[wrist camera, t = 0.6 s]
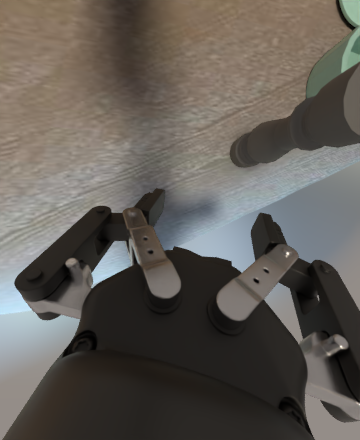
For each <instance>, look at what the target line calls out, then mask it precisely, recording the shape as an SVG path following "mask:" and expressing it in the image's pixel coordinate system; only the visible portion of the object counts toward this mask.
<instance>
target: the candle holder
mask: <svg viewBox="0 0 360 440" xmlns="http://www.w3.org/2000/svg"><path fill="white" fill-rule="evenodd" d="M357 143H360V62H358V63H357V64H355V65H354V66H352V67H350V68H349V69H347V70H346V71H344V72H343V73H341V74H340V75H338V76H337V77H335V78H333V79H332V80H331V81H330V82H328V83H327V84H326V85H325V86H323V87H322V88H321V89H320V91H319V92H318V94H317V95H316V96H313V97H310V98H307V99H305V100H304V101H303V102H302V103H300V104H299V105H298V106H297V107H296V108H295V109H294V111H293V112H292V114H291V116H289V117H287V118H284V119H278V120H272V121H267V122H264V123H261V124H260V125H258V126H257V127H256V128H255V129H253V131H252V132H250V133H247V134H244V135H243V136H241V137H240V138H238V139H237V140H236V141H235V142H234V143H233V145H232V146H231V150H230V157H231V160H232V161H233V163H234V164H235V165H237V166H238V167H250V166H254V165H257V164H258V163H269V162H273V161H276V160H277V159H279V158H280V157H282V156H283V155H285V154H286V153H288V152H289V151H291V150H292V149H294V148H299V149H301V150H309V151H312V150H315V149H318V148H322V147H323V146H330V147H342V146H347V145H352V144H357Z"/></svg>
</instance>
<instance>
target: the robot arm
mask: <svg viewBox="0 0 360 440" xmlns="http://www.w3.org/2000/svg"><path fill="white" fill-rule="evenodd" d="M164 199H165V190H162V189H158V188H156V189H155V190H154V192H153V193H150V192H149V193H147V194H145V195H144V196H143V197H142V198H141V199H140V200H139V202H138V203H137V204H136V205H135V206H134V207H132V208H127V209H125V210H124V211H123V213H111V209H110V208H109V207H107V206H97V207H94V208H92V209H91V210H90V211H89V212H88V213H86V214H85V215H84V216H83V217H82V218H81V219H80V220H79V221H78V222H76V223H75V224H74V225H73V226H72V227H71V228H70V229H69V230H68V231H66V232H65V233H64V234H63V235H62V236H61V237H60V238H59V239H58V240H56V241H55V242H54V243H53V244H52V245H51V246H50V247H49V248H48V249H46V250H45V251H44V252H43V253H42V254H41V255H40V256H39V257H38V258H36V259H35V260H34V261H33V262H32V263H31V264H30V265H29V266H28V267H26V268H25V269H24V270H23V271H22V272H21V273H20V274H19V275H18V276H17V278H16V279H15V287H16V288H17V290H18V291H19V292H20V293H21V295H22V297H23V299H24V300H25V302H26V303H27V304H28V305H29V307H30V308H31V309H32V310H33V311H34V312H35V313H36V314H37V315H38V316H39V318H40V319H42V320H52V319H55V318H57V317H58V316H60V315H65V316H69V317H73V318H77V319H80V322H79V326H78V329H77V331H76V333H75V336H74V338H73V339H72V341H71V343H70V344H69V345H68V347H67V348H66V349H65V350H64V352H63V353H62V354H61V355H60V356H59V358H58V359H57V360H56V361H55V362H54V364H53V365H52V366H51V367H50V369H49V370H48V372H47V373H46V375H45V376H44V377H43V379H42V380H41V382H40V384H39V385H38V387H37V388H36V390H35V391H34V393H33V394H32V396H31V397H30V399H29V400H28V402H27V403H26V405H25V406H24V408H23V409H22V411H21V412H20V414H19V415H18V417H17V418H16V420H15V421H14V423H13V424H12V426H11V427H10V429H9V430H8V432H7V434H6V435H5V437H4V438H3V440H315V439H314V437H313V435H312V433H311V430H310V428H309V425H308V422H307V419H306V414H305V394H308V395H310V396H312V397H315V398H317V399H320V401H321V402H322V404H323V406H324V407H325V408H326V410H327V411H328V412H329V413H330V414H331V415H332V416H333V417H334V418H335V419H337V420H339V421H341V422H353V421H360V311H359V309H358V307H357V306H356V304H355V302H354V300H353V299H352V297H351V295H350V293H349V292H348V290H347V288H346V286H345V285H344V283H343V281H342V279H341V277H340V276H339V274H338V272H337V271H336V270H335V269H334V268H333V267H332V266H331V265H329V264H328V263H326V262H324V261H321V260H314V261H313V262H312V263H311V264H310V263H308V262H306V261H304V260H302V259H300V258H298V257H299V256H298V253H297V252H296V251H295V250H294V249H293V248H292V247H290V246H288V245H287V243H286V241H285V238H284V236H283V233H282V232H281V228H280V226H279V225H278V224H277V223H276V222H273V220H272V217H271V215H269V214H264V213H260V214H259V215H258V217H257V219H256V221H255V223H254V225H253V227H252V230H251V238H252V244H253V250H254V255H255V262H254V263H253V264H252V265H251V266H250V267H248V268H247V269H246V270H245V271H244V272H243V273H241V272H240V271H239V270H237V269H236V268H234V267H233V266H232V263H231V261H228V260H224V259H221V258H217V257H202V256H200V255H198V254H196V253H193V252H191V251H189V250H187V249H183V248H179V247H176V246H174V248H173V250H165V251H164V250H163V248H162V245H161V243H160V241H159V239H158V237H157V235H156V233H155V231H154V229H153V227H154V225H155V224H156V222H157V220H158V218H159V217H160V215H161V213H162V211H163V208H164ZM114 241H125V244H126V248H127V252H128V255H129V259H130V265H131V266H130V267H128V268H126V269H125V270H123V271H121V272H119V273H117V274H115V275H113V276H111V277H109V278H107V279H105V280H103V281H101V282H100V283H98V284H97V285H96V286H95V287H94V288H91V286H92V284H93V277H92V274H91V273H92V272H93V270H94V269H95V267H96V266H97V265H98V263H99V262H100V260H101V259H102V257H103V256H104V255H105V253H106V252H107V250H108V249H109V248H110V246H111V245H112V243H113V242H114ZM278 282H279V283H281V284H283V285H284V286H286V287H288V288H290V291H291V295H292V299H293V302H294V306H295V310H296V314H297V317H298V321H299V325H300V329H301V333H302V336H303V340H302V341H301V342H300V344H298V342H297V341H296V340H295V338H294V337H293V336H292V334H291V333H290V332H289V331H288V329H287V328H286V327H285V326H284V324H283V323H282V322H281V320H280V319H279V318H278V317H277V315H276V314H275V313H274V312H273V310H272V309H271V308H270V307H269V305H268V304H267V303H266V302H265V300H264V299H265V297H266V296H267V295H268V294H269V293H270V291H271V290H272V289H273V288H274V287H275V285H276V284H277V283H278ZM317 295H319V301H318V298H317Z"/></svg>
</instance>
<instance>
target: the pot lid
mask: <svg viewBox="0 0 360 440" xmlns="http://www.w3.org/2000/svg"><path fill="white" fill-rule="evenodd" d="M339 2H340V7H341V10H342V12H343V14H344V16H345V18H346V19H347V21H348V22H349V23H350V24H351V25H353V26H354V27H358V26H359V25H360V0H339Z"/></svg>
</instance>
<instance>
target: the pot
mask: <svg viewBox="0 0 360 440" xmlns="http://www.w3.org/2000/svg"><path fill="white" fill-rule="evenodd" d="M358 62H360V25H359V26H358V27H356V28H355V29H354V30H353V31H352V32H350V33H349V34H348V35H347V36H346V37H345V38H343V39H342V40H341V41H340V42H339V43H338V44H336V45H335V46H334V47H333V48H332V49H330V50H329V51H328V52H327V53H326V54H325V55H324V56H323V57H322V58H321V59H320V60H319V61H318V62H317V64H316V65H315V66H314V68H313V70H312V71H311V74H310V76H309V79H308V82H307V88H306V97H307V98H310V97H313V96H316V95H317V94H318V92H319V91H320V89H321V88H322V87H323V86H325V85H326V84H327V83H328V82H330V81H331V80H332V79H333V78H335V77H337V76H338V75H340V74H341V73H343V72H344V71H346V70H347V69H349V68H350V67H352V66H354V65H355V64H357V63H358Z"/></svg>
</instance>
